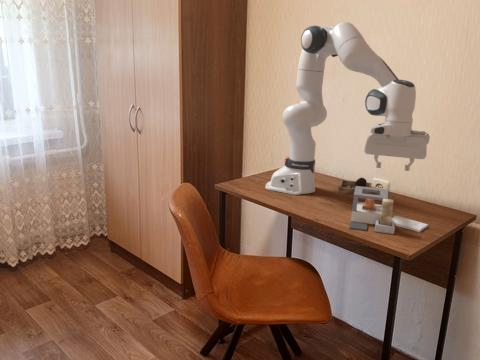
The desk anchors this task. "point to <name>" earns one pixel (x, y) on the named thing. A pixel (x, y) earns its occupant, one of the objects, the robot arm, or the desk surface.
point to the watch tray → (350, 190)
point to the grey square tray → (384, 227)
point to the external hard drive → (409, 223)
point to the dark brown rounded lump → (359, 183)
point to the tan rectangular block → (386, 212)
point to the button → (369, 204)
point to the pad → (358, 226)
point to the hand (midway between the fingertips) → (392, 169)
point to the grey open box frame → (358, 208)
